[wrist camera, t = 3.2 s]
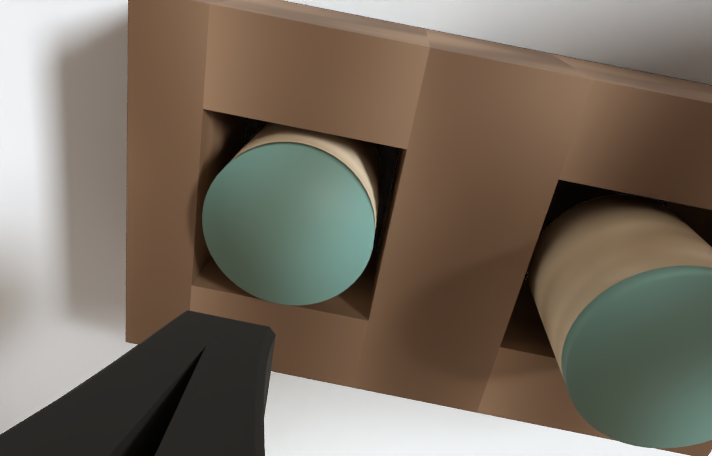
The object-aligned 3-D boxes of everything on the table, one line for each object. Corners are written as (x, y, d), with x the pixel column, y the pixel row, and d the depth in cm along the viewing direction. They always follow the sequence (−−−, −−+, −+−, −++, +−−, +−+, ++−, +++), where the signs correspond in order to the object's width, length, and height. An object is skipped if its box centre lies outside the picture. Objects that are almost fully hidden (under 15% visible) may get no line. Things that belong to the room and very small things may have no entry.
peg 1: (394, 121, 16) (389, 166, 12) (368, 247, 18) (357, 319, 14) (254, 93, 16) (208, 130, 12) (241, 221, 18) (196, 287, 14)
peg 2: (721, 212, 14) (835, 301, 10) (655, 347, 15) (732, 465, 12) (556, 179, 14) (609, 256, 10) (508, 317, 15) (539, 426, 12)
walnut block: (782, 99, 15) (897, 140, 12) (650, 365, 19) (706, 458, 15) (195, -17, 15) (128, -13, 12) (179, 271, 19) (125, 341, 16)
